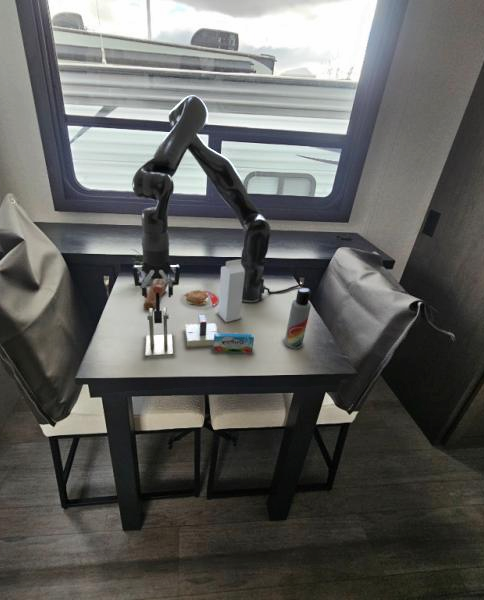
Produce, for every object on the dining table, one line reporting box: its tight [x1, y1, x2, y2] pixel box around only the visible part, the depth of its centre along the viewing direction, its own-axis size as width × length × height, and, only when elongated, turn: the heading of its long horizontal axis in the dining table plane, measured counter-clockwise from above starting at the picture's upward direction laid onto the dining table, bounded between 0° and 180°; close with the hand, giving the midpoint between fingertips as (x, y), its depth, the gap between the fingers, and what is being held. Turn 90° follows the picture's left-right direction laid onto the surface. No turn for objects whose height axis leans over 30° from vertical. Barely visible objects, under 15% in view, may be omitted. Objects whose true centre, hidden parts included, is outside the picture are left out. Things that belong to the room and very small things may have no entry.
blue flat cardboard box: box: [212, 333, 255, 354], centre depth 96 cm, size 12×2×6 cm, turn 93°
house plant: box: [131, 242, 155, 286], centre depth 132 cm, size 14×14×16 cm
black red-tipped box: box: [197, 314, 208, 336], centre depth 99 cm, size 5×2×5 cm, turn 9°
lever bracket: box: [144, 307, 174, 357], centre depth 94 cm, size 10×8×13 cm
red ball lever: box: [152, 285, 163, 324], centre depth 95 cm, size 13×3×3 cm, turn 10°
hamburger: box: [183, 289, 219, 307], centre depth 123 cm, size 14×14×6 cm
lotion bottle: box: [284, 287, 312, 349], centre depth 98 cm, size 6×6×20 cm
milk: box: [217, 258, 245, 323], centre depth 110 cm, size 6×6×22 cm
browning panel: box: [184, 322, 219, 347], centre depth 101 cm, size 10×9×3 cm
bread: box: [143, 278, 168, 311], centre depth 121 cm, size 6×19×6 cm, turn 175°
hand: (157, 296), depth 98 cm, fingers open, 6 cm apart
